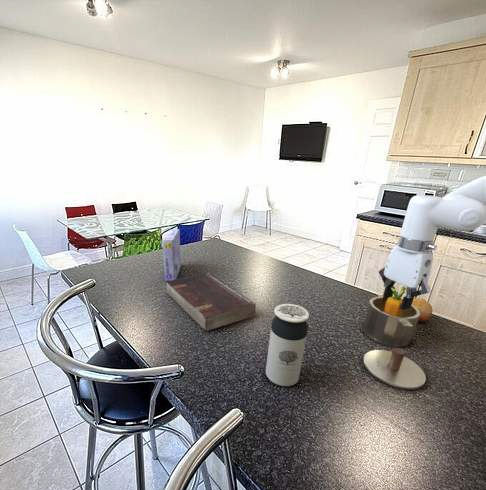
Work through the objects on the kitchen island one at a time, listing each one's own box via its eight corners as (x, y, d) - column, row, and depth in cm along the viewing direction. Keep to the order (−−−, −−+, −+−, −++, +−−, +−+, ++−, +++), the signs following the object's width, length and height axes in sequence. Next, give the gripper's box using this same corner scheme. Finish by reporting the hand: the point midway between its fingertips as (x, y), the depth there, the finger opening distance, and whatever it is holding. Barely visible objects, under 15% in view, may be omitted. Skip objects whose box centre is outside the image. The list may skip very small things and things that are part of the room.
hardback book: (254, 315, 97) (256, 302, 95) (206, 332, 87) (206, 318, 85) (209, 283, 119) (209, 271, 117) (166, 293, 110) (166, 281, 108)
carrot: (380, 335, 87) (393, 290, 81) (375, 326, 91) (388, 282, 85) (398, 337, 86) (413, 292, 80) (393, 328, 90) (407, 284, 84)
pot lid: (407, 356, 79) (414, 337, 77) (436, 394, 67) (445, 373, 64) (355, 351, 81) (360, 332, 78) (373, 387, 68) (380, 366, 66)
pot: (394, 319, 96) (402, 294, 92) (423, 355, 80) (435, 325, 76) (354, 316, 98) (361, 291, 94) (375, 350, 81) (383, 321, 77)
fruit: (427, 310, 99) (435, 297, 93) (425, 330, 96) (433, 318, 90) (400, 304, 103) (406, 291, 97) (397, 322, 99) (403, 310, 93)
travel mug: (269, 360, 76) (276, 300, 69) (300, 369, 74) (311, 307, 66) (262, 381, 69) (270, 316, 62) (296, 391, 67) (309, 324, 60)
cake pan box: (171, 264, 137) (170, 227, 130) (181, 264, 137) (181, 227, 130) (163, 281, 119) (161, 240, 112) (175, 282, 119) (174, 240, 112)
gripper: (458, 252, 71) (434, 316, 79) (394, 234, 86) (379, 289, 93) (438, 255, 69) (415, 321, 76) (376, 236, 83) (361, 293, 90)
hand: (395, 303), depth 84 cm, fingers closed on carrot, 4 cm apart
